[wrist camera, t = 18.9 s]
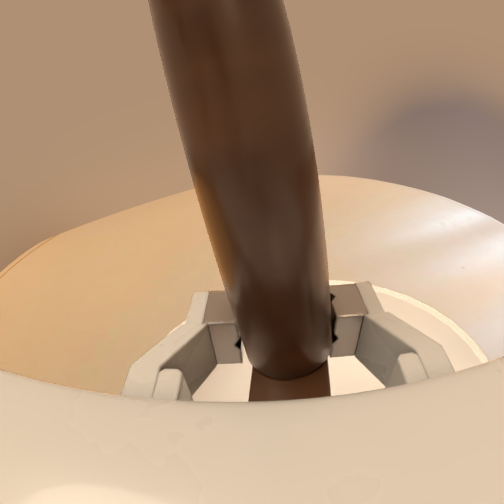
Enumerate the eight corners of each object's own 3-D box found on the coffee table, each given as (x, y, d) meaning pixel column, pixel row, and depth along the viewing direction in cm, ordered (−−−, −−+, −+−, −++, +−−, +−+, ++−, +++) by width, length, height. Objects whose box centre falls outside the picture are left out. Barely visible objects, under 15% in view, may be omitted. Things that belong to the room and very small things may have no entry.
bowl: (429, 348, 22) (455, 281, 18) (457, 569, 6) (532, 550, 2) (206, 339, 26) (191, 272, 22) (123, 553, 9) (54, 533, 6)
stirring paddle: (336, 469, 9) (234, -160, 1) (268, 473, 9) (83, -108, 1) (329, 372, 13) (259, -60, 5) (275, 377, 14) (172, -38, 5)
